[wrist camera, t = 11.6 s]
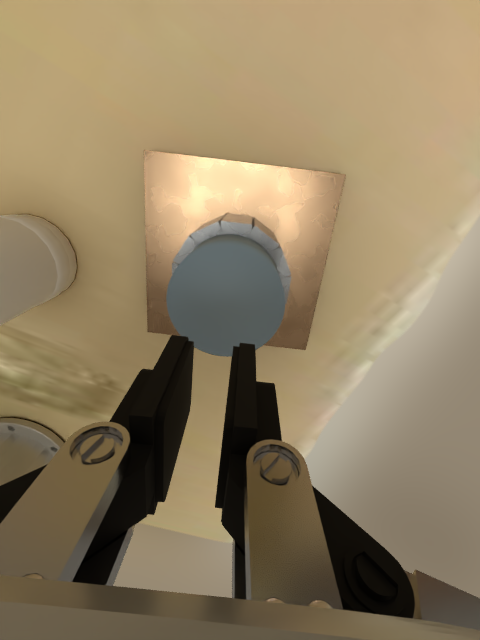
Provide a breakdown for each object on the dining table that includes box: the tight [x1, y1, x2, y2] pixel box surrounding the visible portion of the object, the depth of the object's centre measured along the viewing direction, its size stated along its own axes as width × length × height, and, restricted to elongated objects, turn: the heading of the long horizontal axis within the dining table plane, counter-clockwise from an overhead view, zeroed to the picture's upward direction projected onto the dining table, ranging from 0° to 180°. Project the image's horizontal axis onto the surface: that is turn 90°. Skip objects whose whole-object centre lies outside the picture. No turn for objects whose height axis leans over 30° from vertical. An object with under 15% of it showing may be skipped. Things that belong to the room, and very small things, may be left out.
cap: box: [166, 234, 285, 356], centre depth 21 cm, size 7×7×8 cm
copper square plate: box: [144, 150, 346, 350], centre depth 24 cm, size 16×16×8 cm
